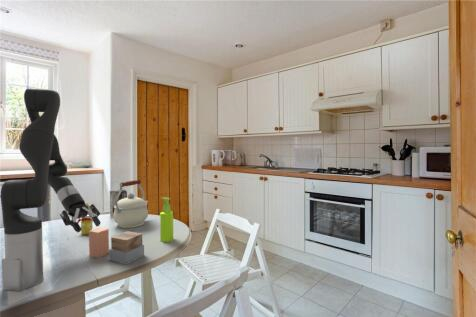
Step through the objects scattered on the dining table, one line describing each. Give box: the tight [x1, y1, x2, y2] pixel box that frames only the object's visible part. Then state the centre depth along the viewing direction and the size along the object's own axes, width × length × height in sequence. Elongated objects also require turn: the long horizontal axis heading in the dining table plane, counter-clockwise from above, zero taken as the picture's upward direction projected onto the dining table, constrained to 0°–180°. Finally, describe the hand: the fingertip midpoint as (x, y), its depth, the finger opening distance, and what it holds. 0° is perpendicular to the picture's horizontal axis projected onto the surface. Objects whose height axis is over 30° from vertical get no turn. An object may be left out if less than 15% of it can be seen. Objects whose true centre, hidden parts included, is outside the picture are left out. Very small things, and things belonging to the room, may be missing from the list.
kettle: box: [112, 179, 149, 229], centre depth 147 cm, size 25×18×25 cm
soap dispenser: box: [159, 196, 174, 243], centre depth 121 cm, size 6×7×20 cm
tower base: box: [108, 244, 145, 265], centre depth 101 cm, size 9×9×4 cm
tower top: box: [110, 230, 143, 252], centre depth 102 cm, size 8×8×4 cm
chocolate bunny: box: [76, 202, 94, 236], centre depth 132 cm, size 7×11×15 cm, turn 24°
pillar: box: [88, 227, 110, 258], centre depth 104 cm, size 5×5×10 cm
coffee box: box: [109, 189, 128, 218], centre depth 165 cm, size 9×6×16 cm
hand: (89, 228), depth 106 cm, fingers open, 8 cm apart
